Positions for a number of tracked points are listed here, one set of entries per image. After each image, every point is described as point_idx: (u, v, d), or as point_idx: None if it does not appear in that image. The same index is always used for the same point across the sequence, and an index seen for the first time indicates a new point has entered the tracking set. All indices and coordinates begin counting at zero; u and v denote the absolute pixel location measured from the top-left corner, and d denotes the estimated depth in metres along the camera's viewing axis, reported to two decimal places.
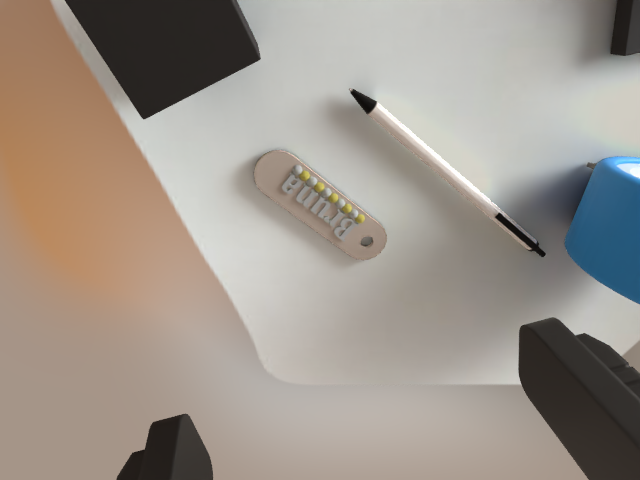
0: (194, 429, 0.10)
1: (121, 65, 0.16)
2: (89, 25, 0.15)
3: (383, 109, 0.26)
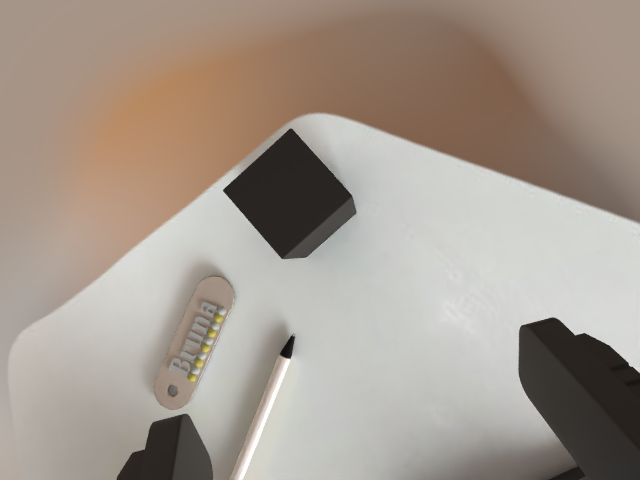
0: (194, 429, 0.10)
1: (253, 172, 0.24)
2: (271, 151, 0.24)
3: (286, 365, 0.32)
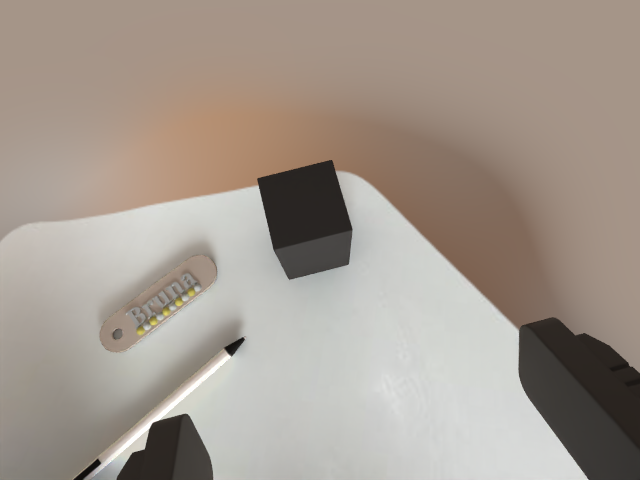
0: (194, 429, 0.10)
1: (287, 176, 0.28)
2: (309, 168, 0.28)
3: (224, 360, 0.33)
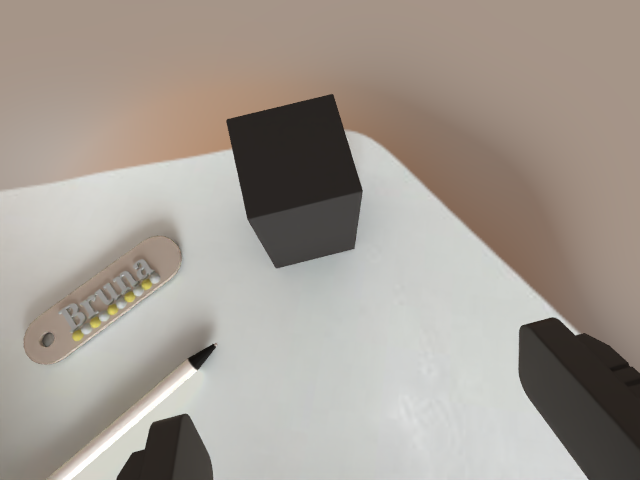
0: (194, 429, 0.10)
1: (269, 117, 0.20)
2: (300, 106, 0.20)
3: (187, 375, 0.25)
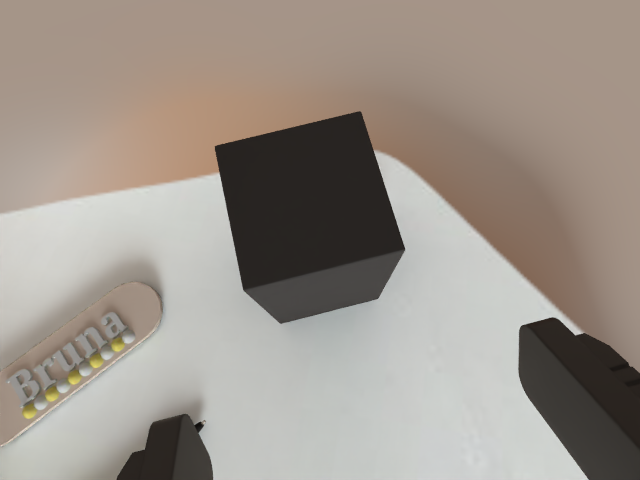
0: (194, 429, 0.10)
1: (273, 143, 0.14)
2: (316, 127, 0.15)
3: None
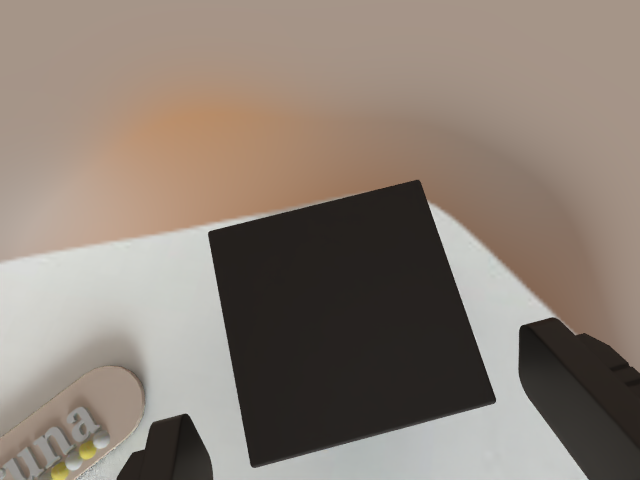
0: (194, 429, 0.10)
1: (293, 228, 0.10)
2: (356, 204, 0.10)
3: None
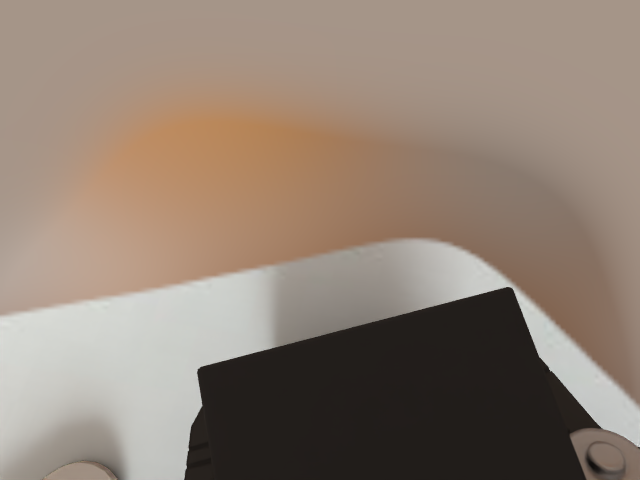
0: None
1: (326, 365, 0.07)
2: (419, 327, 0.07)
3: None
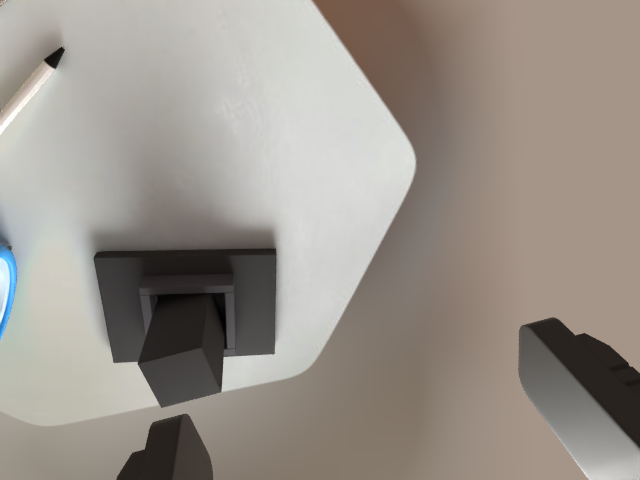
0: (194, 429, 0.10)
1: (164, 361, 0.34)
2: (182, 354, 0.34)
3: (48, 73, 0.32)
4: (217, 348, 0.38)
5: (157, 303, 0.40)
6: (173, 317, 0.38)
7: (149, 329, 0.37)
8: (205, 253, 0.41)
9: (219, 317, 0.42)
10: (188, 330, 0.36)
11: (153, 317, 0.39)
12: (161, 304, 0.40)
